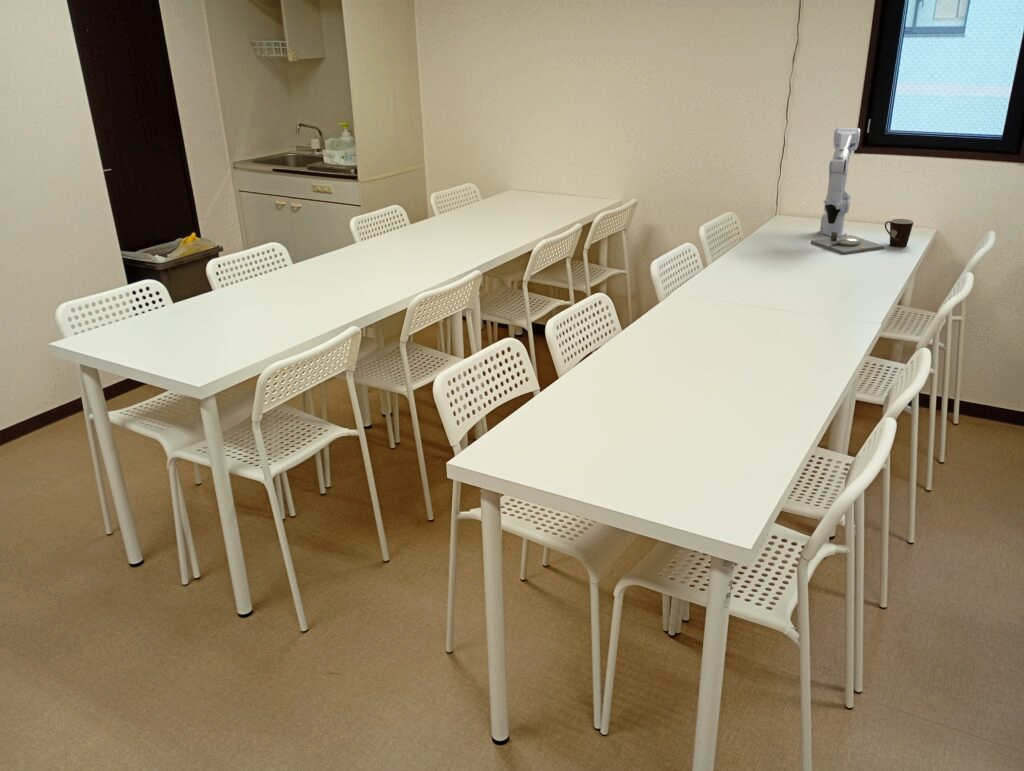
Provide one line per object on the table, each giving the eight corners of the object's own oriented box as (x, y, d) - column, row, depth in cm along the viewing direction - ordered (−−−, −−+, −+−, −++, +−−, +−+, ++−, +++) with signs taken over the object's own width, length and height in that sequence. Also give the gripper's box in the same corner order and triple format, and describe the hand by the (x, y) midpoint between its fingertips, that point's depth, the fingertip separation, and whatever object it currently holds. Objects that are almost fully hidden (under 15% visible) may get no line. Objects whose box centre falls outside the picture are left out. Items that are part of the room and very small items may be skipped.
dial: (848, 238, 346) (850, 226, 344) (865, 244, 337) (867, 231, 335) (822, 242, 342) (824, 230, 340) (838, 248, 333) (840, 235, 331)
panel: (810, 243, 346) (811, 239, 346) (850, 237, 352) (850, 234, 352) (843, 254, 329) (843, 251, 328) (884, 248, 335) (884, 245, 334)
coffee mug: (913, 247, 335) (917, 223, 331) (891, 248, 335) (895, 223, 331) (901, 240, 345) (905, 216, 341) (880, 241, 346) (884, 217, 341)
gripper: (819, 186, 341) (816, 219, 347) (830, 193, 328) (826, 227, 333) (837, 186, 341) (833, 218, 346) (849, 193, 327) (844, 227, 333)
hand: (831, 223), depth 340 cm, fingers closed
